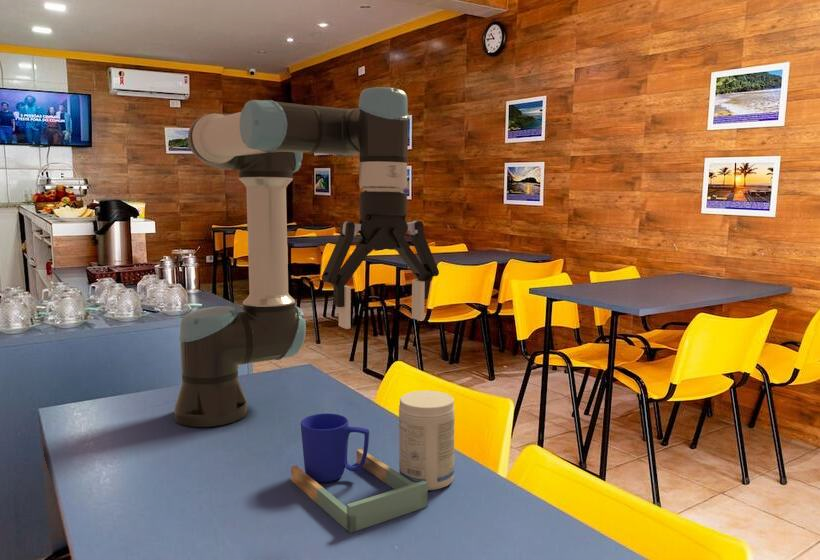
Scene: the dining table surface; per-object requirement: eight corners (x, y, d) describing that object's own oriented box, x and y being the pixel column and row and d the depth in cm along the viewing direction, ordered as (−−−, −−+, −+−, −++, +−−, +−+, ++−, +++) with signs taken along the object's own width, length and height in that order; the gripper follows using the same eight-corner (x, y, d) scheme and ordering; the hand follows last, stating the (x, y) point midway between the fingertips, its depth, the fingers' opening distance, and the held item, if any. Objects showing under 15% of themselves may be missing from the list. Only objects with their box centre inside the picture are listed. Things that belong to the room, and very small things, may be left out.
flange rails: (291, 480, 107) (290, 466, 107) (361, 461, 115) (361, 448, 115) (317, 503, 99) (317, 489, 99) (390, 481, 107) (390, 468, 107)
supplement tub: (444, 465, 114) (446, 388, 112) (461, 489, 105) (463, 405, 103) (392, 471, 112) (393, 391, 110) (405, 495, 103) (406, 409, 101)
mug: (362, 491, 104) (362, 433, 103) (294, 484, 106) (293, 427, 105) (374, 470, 112) (375, 416, 110) (311, 464, 114) (310, 411, 113)
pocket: (317, 503, 99) (317, 480, 99) (390, 481, 107) (391, 459, 107) (350, 533, 91) (350, 507, 90) (427, 506, 99) (427, 482, 98)
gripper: (319, 189, 88) (320, 335, 91) (461, 191, 101) (458, 319, 104) (299, 189, 95) (301, 326, 97) (435, 191, 108) (433, 312, 111)
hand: (382, 323), depth 101 cm, fingers open, 13 cm apart
